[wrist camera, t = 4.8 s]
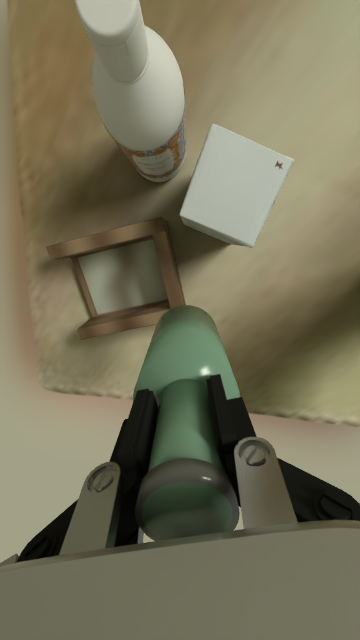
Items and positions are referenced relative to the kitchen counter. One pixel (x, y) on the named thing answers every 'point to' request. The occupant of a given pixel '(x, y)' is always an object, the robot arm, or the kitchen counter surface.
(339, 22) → the kitchen counter surface
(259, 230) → the supplement box
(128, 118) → the bath foam
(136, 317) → the walnut U-rest
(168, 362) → the green bottle
